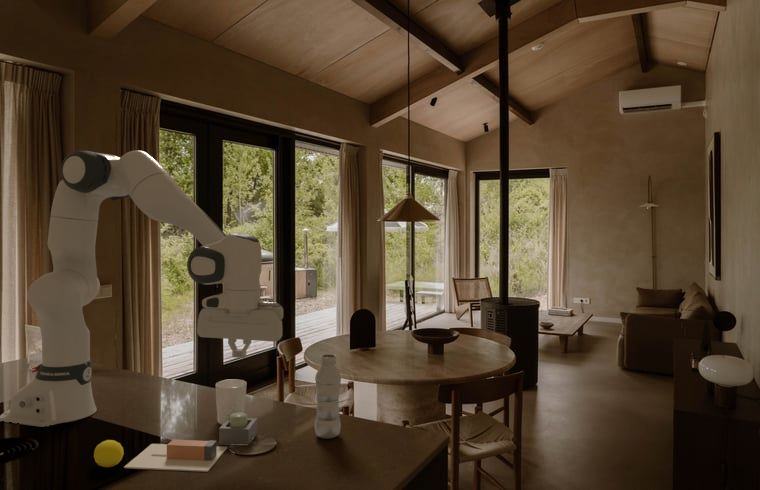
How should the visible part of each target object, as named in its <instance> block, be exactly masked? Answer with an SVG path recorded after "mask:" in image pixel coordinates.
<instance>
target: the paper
mask: <svg viewBox="0 0 760 490" xmlns="http://www.w3.org/2000/svg"><path fill="white" fill-rule="evenodd" d="M167 444H168V443H167ZM167 444H165V443H151V444H149V446H147V447H146V448H145V449H144V450H143V451H141V452H140V453H139V454H138V455H137V456H135V457H134V458H132V459H131V460H130V461H129V462H127V464H125V466H123V468H124V469H133V470H134V469H135V470H156V471H158V470H161V471H178V472H180V471H182V472H183V471H184V472H201V473H203V472H205V473H206V472H207V473H208V472H209V471H210V470H211V468H213V466H214V465H216V463H217V461H218V460H219V459H220V457H222V455H223V454H224V453H225V451H226V450H227V449H228V446H221V445H219V446H217V454H216V456H215V457H214V458H213V459H212V460H191V459H168V458H167Z"/></svg>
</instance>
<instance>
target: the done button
mask: <svg viewBox="0 0 760 490" xmlns="http://www.w3.org/2000/svg"><path fill="white" fill-rule="evenodd" d="M247 418H248V413H245V412H244V413H234V414H232V415H230V427H244V428H246V427H247Z"/></svg>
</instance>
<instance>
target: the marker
mask: <svg viewBox="0 0 760 490" xmlns="http://www.w3.org/2000/svg"><path fill="white" fill-rule="evenodd" d="M217 442H218V441H217V440H212V439H211V440H197V439H196V440H195V439H194V440H193V439H172V440H170V441H169V442H168V443H167V458H168V459H191V460H212V459H213V458H214V457H215V456H216V454H217V445H218V443H217Z"/></svg>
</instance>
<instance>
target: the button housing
mask: <svg viewBox="0 0 760 490" xmlns="http://www.w3.org/2000/svg"><path fill="white" fill-rule="evenodd" d="M257 435H258V418H254V417H252V418H251V417H247V427H246V428H244V427H230V418H228V420H227V421H226V422H225V423H224V424H223V425H222V424H221V426H220V427H219V432H218V445H219V446H231V444H249V443H250V441H251V440H252V438H253V437H255V436H256V437H257ZM256 437H255V438H256ZM250 444H251V443H250Z"/></svg>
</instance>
